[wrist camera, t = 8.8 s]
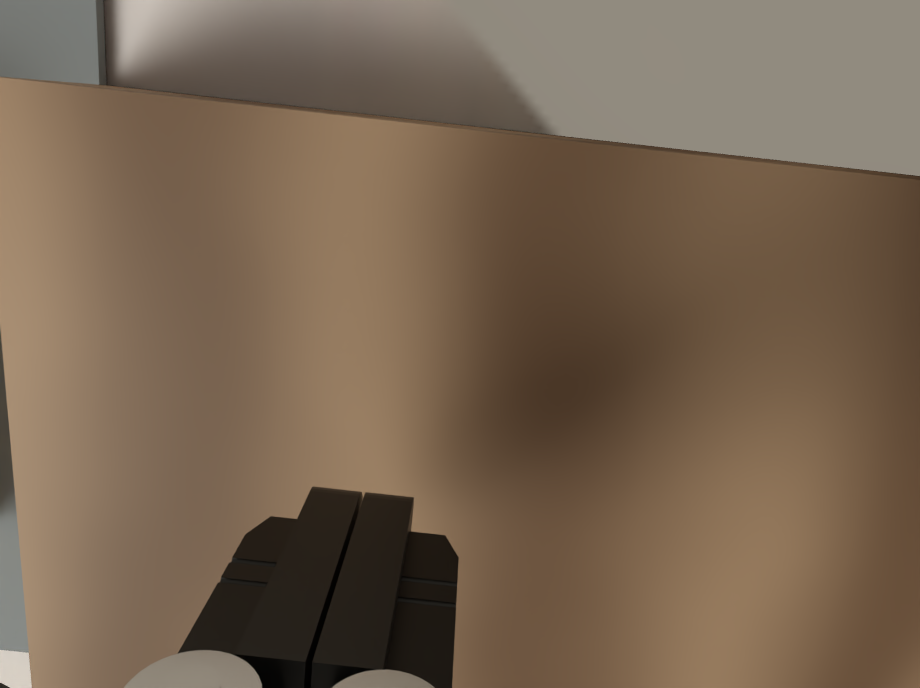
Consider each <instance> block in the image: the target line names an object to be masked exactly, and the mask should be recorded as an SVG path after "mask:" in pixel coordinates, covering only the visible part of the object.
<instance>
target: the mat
mask: <svg viewBox="0 0 920 688" xmlns="http://www.w3.org/2000/svg"><path fill="white" fill-rule="evenodd" d="M0 77H11V78H23V79H35V80H47V81H60V82H72V83H84V84H96V85H106V58H105V32H104V6H103V0H0ZM0 650H8V651H18V652H28V653H29V648H28V636H27V625H26V614H25V602H24V591H23V579H22V568H21V557H20V545H19V534H18V523H17V511H16V500H15V488H14V477H13V466H12V454H11V443H10V432H9V420H8V409H7V398H6V386H5V375H4V363H3V352H2V341H1V329H0Z"/></svg>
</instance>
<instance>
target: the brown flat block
mask: <svg viewBox="0 0 920 688" xmlns="http://www.w3.org/2000/svg"><path fill="white" fill-rule="evenodd" d="M0 329H1V341H2V352H3V363H4V375H5V386H6V398H7V409H8V420H9V432H10V443H11V454H12V466H13V477H14V488H15V500H16V511H17V523H18V534H19V545H20V557H21V568H22V579H23V591H24V602H25V614H26V625H27V636H28V648H29V659H30V670H31V682H32V688H124V687H125V686H126V684H127V683H128V682H129V681H130V680H131V679H132V678H133V677H134V676H135V675H136V674H138V673H139V672H140V671H141V670H143V669H145V668H146V667H148V666H149V665H151V664H153V663H155V662H157V661H159V660H161V659H163V658H166V657H169V656H171V655H175V654H178V652H179V650H180V648H181V647H182V645H183V643H184V641H185V640H186V638H187V636H188V634H189V632H190V631H191V629H192V627H193V625H194V624H195V622H196V620H197V618H198V617H199V615H200V613H201V611H202V610H203V608H204V606H205V604H206V603H207V601H208V599H209V597H210V596H211V594H212V592H213V590H214V588H215V587H216V585H217V583H218V582H219V583H220V580H221V576H222V574H223V573H224V571H225V569H226V567H227V566H228V564H229V562H231V561H232V557H233V555H234V553H235V552H236V550H237V548H238V546H239V544H240V543H241V541H242V539H243V537H244V536H245V534H246V533H248V532H249V531H251V530H252V529H253V528H255V527H256V526H258V525H259V524H261V523H262V522H263V521H265V520H266V519H268V518H269V517H270V516H274V517H283V518H292V519H297V518H298V516H299V514H300V511H301V509H302V507H303V505H304V503H305V501H306V498H307V496H308V494H309V492H310V490H311V488H312V487H313V486H315V487H324V488H333V489H342V490H351V491H360V492H362V494H363V497H364V494H365V492H370V493H379V494H388V495H397V496H406V497H414V507H413V517H412V527H411V531H412V532H421V533H430V534H439V535H446V537H447V539H448V540H449V542H450V544H451V546H452V547H453V549H454V551H455V552H456V554H457V556H458V557H459V562H458V581H457V601H456V621H455V640H454V660H453V680H452V688H920V176H913V175H904V174H896V173H886V172H878V171H869V170H860V169H850V168H842V167H833V166H824V165H815V164H806V163H797V162H788V161H779V160H770V159H761V158H753V157H744V156H734V155H725V154H717V153H708V152H697V151H690V150H681V149H672V148H663V147H654V146H645V145H635V144H627V143H618V142H609V141H600V140H591V139H582V138H574V137H565V136H556V135H547V134H538V133H529V132H520V131H511V130H502V129H493V128H484V127H475V126H466V125H457V124H448V123H439V122H430V121H421V120H412V119H404V118H395V117H386V116H377V115H368V114H359V113H350V112H341V111H332V110H323V109H314V108H305V107H296V106H287V105H278V104H269V103H260V102H251V101H242V100H233V99H225V98H216V97H207V96H198V95H189V94H180V93H171V92H162V91H153V90H144V89H135V88H126V87H117V86H108V85H96V84H84V83H72V82H60V81H47V80H35V79H23V78H11V77H0Z"/></svg>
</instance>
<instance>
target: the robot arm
mask: <svg viewBox="0 0 920 688" xmlns="http://www.w3.org/2000/svg"><path fill="white" fill-rule="evenodd" d="M413 507H414V497H406V496H397V495H388V494H379V493H370V492H365V494H364V497H363V494H362V492H360V491H351V490H342V489H333V488H324V487H315V486H313V487H312V488H311V490H310V492H309V494H308V496H307V498H306V501H305V503H304V505H303V507H302V509H301V511H300V514H299V516H298V518H297V519H292V518H283V517H274V516H270V517H269V518H268V519H266V520H265V521H263V522H262V523H261V524H259V525H258V526H256V527H255V528H253V529H252V530H251V531H249V532H248V533H246V534H245V536H244V537H243V539H242V541H241V543H240V544H239V546H238V548H237V550H236V552H235V553H234V555H233V557H232V561H231V562H229V564H228V566H227V567H226V569H225V571H224V573H223V574H222V576H221V580H220V583H219V582H218V583H217V585H216V587H215V588H214V590H213V592H212V594H211V596H210V597H209V599H208V601H207V603H206V604H205V606H204V608H203V610H202V611H201V613H200V615H199V617H198V618H197V620H196V622H195V624H194V625H193V627H192V629H191V631H190V632H189V634H188V636H187V638H186V640H185V641H184V643H183V645H182V647H181V648H180V650H179V652H178V654H175V655H171V656H169V657H166V658H163V659H161V660H159V661H157V662H155V663H153V664H151V665H149V666H148V667H146V668H145V669H143V670H141V671H140V672H139V673H138V674H136V675H135V676H134V677H133V678H132V679H131V680H130V681H129V682H128V683H127V684H126V686H125V687H124V688H452V680H453V660H454V640H455V621H456V601H457V581H458V562H459V557H458V556H457V554H456V552H455V551H454V549H453V547H452V546H451V544H450V542H449V540H448V539H447V537H446V535H439V534H430V533H421V532H412V531H411V527H412V517H413ZM0 688H9V687H7V686H6V685H4V684H2V683H0Z"/></svg>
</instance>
